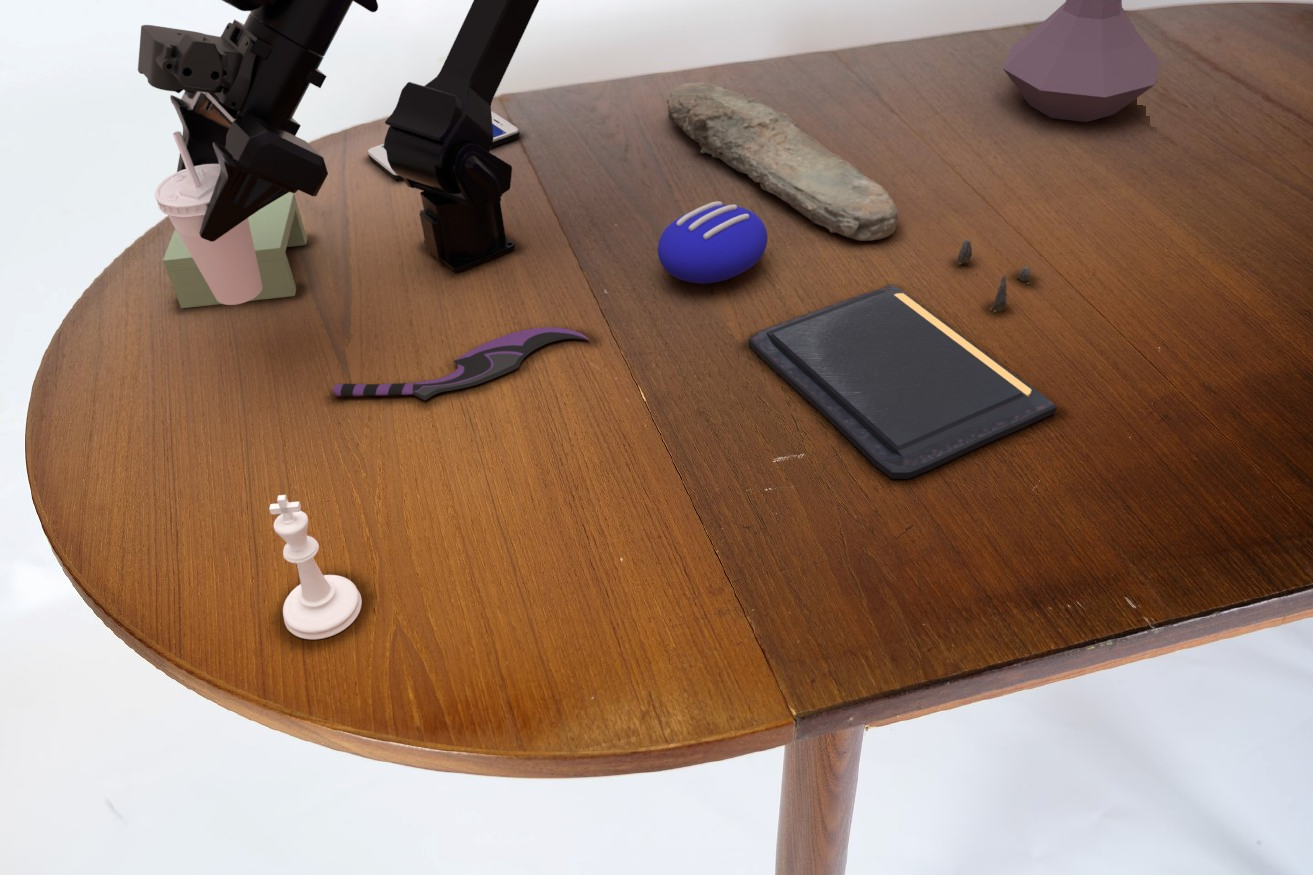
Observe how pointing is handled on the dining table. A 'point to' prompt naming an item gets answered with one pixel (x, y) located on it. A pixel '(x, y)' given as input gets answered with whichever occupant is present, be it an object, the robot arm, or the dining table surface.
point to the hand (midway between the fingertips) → (191, 221)
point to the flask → (1082, 62)
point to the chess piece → (312, 581)
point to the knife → (471, 365)
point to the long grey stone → (783, 160)
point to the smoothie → (219, 261)
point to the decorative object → (712, 243)
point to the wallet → (899, 381)
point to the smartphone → (501, 134)
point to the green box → (270, 239)
